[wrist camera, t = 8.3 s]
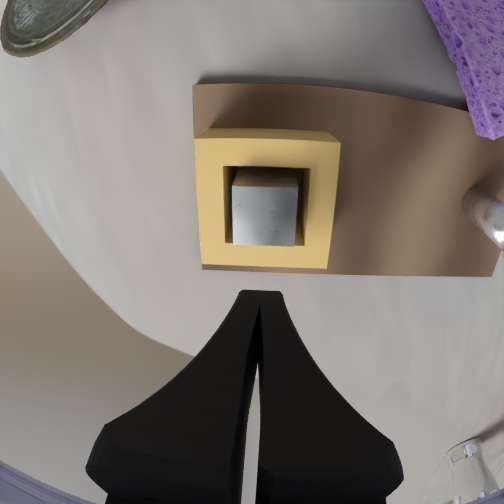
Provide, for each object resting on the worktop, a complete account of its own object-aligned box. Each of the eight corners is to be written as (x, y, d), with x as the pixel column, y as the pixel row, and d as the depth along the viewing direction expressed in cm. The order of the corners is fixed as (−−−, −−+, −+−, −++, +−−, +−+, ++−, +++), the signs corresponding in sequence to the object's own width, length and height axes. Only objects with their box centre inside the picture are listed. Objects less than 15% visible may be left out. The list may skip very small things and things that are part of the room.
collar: (328, 131, 14) (340, 142, 12) (319, 238, 17) (326, 268, 14) (208, 128, 14) (194, 138, 12) (212, 234, 17) (201, 264, 15)
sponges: (473, 135, 13) (492, 141, 12) (370, -74, 9) (379, -89, 7) (546, 106, 11) (565, 111, 10) (462, -78, 7) (477, -88, 5)
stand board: (522, 129, 13) (572, 149, 9) (487, 271, 18) (520, 312, 14) (195, 84, 14) (165, 86, 10) (204, 263, 19) (186, 315, 15)
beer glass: (485, 442, 32) (508, 521, 19) (446, 463, 34) (463, 542, 21) (480, 430, 29) (506, 521, 16) (436, 454, 32) (454, 545, 19)
